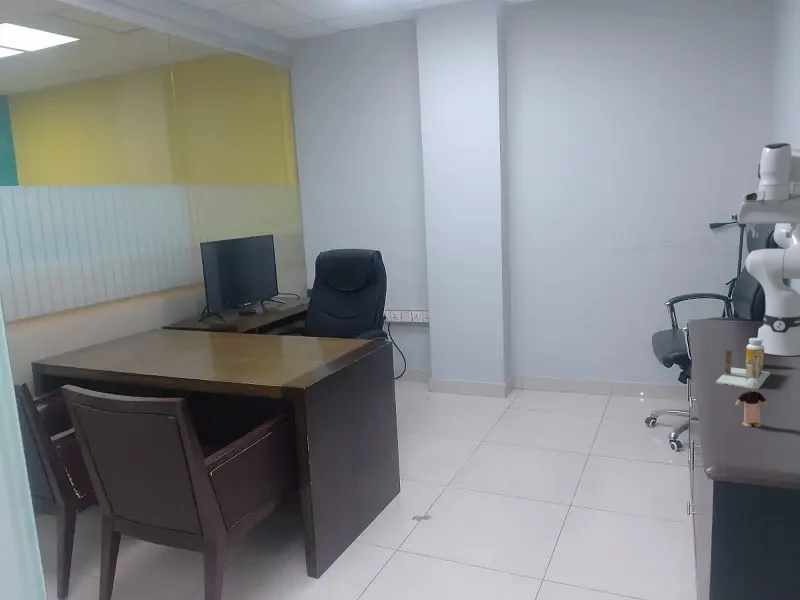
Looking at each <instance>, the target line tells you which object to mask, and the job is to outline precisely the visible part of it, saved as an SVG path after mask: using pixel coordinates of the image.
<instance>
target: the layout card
mask: <svg viewBox="0 0 800 600" xmlns="http://www.w3.org/2000/svg"><path fill="white" fill-rule="evenodd" d="M770 375H771V372H770V371H763V370H762V372H761V373H760V375H759V376H758V377H757V378H756V379H757V380H758V383H759V384H760V386H759V388H758V389H757V390H759V389H760V388H761V386H762V385H763V384H764V382H765V381H766V380H767V379H766V378H769V376H770ZM745 382H746V368H741V367H740V368H739V367H732V366H731V373H730V374H727V373H725V372H724V373H723V374H722V375H720V377H719V378H718V379H717V380H716V381H715V384H717V385H724V384H728V385H727V386H731V385H734V387H738V386H739V387H740V388H745V389H747V388H746V387H745Z"/></svg>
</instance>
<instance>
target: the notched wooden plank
mask: <svg viewBox="0 0 800 600" xmlns="http://www.w3.org/2000/svg"><path fill="white" fill-rule="evenodd" d="M756 367H757V360H756V358H751V359H749V361H747V365H746V364H745V369H746V381H747V379H750V378H754V379H756Z"/></svg>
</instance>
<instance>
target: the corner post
mask: <svg viewBox="0 0 800 600" xmlns="http://www.w3.org/2000/svg"><path fill="white" fill-rule="evenodd" d="M724 352H725V364H724V365H725V367H724V368H725V369H724V373H727V374H730V373H731V367H732V356H733V355H732V353H733V349H728V348H726V349H725V351H724Z"/></svg>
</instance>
